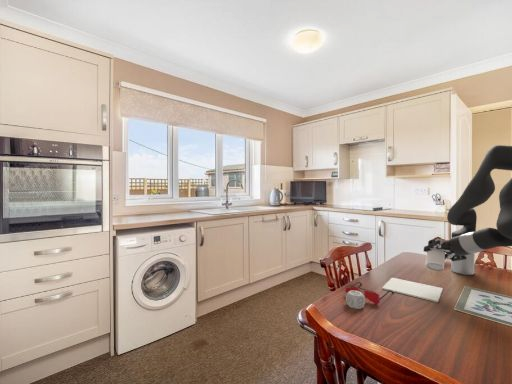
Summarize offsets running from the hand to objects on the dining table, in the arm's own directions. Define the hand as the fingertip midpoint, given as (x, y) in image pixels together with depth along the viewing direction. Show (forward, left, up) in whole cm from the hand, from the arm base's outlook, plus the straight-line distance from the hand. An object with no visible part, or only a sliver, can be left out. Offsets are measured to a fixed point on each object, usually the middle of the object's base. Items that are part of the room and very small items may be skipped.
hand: (431, 253), depth 113 cm
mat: (+8, -6, -15) cm, 18 cm away
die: (+39, -19, -15) cm, 46 cm away
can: (+6, +2, -4) cm, 8 cm away
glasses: (+25, -18, -16) cm, 34 cm away
